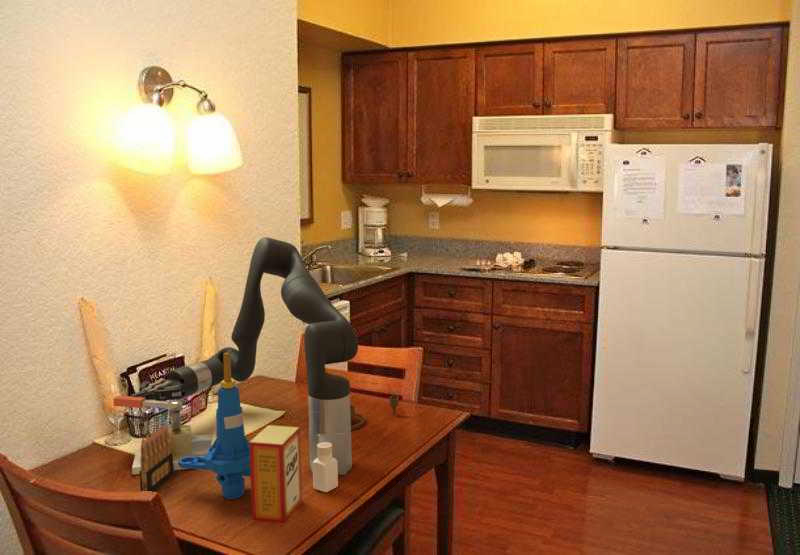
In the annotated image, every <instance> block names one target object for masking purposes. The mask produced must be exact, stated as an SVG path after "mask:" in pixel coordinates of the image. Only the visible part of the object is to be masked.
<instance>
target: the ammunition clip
mask: <svg viewBox="0 0 800 555" xmlns="http://www.w3.org/2000/svg"><path fill="white" fill-rule="evenodd" d="M168 427H169V426H168V425H167V422H164V424H163V427H162V425H160V426H159V429H158V428H156V429H155V431H151V432H150V433H151V434H150V435H149V434H147V435H146V437H145V438H144V437H143V438H142V439H141V443H140V452H141V459H140V460H141V470H140V474H139V489H140V492H141V491H153V492H155V491H156V490H157V489H158V488H159V487H160V486H162V485H163V484H165V482H167V481H168V480H169V479H170V478H171V477H172V476H174V475H175V470H174V466H173V453H172V452H171V445H170V439H169V432H168ZM145 441H146V442H145ZM154 490H155V491H154Z"/></svg>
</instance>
